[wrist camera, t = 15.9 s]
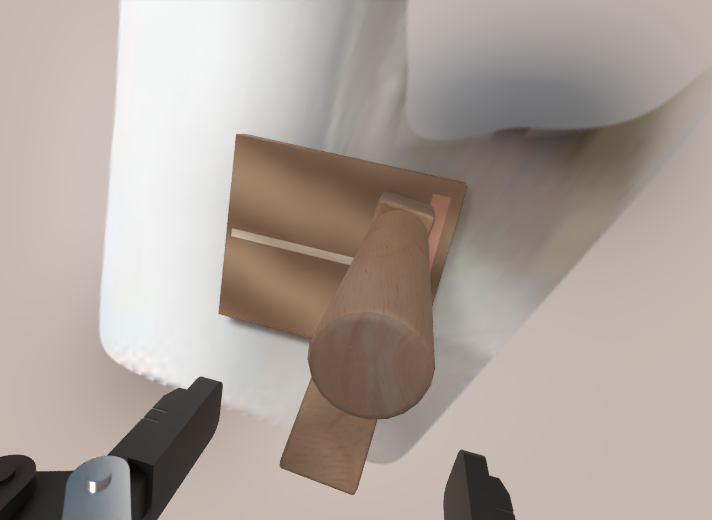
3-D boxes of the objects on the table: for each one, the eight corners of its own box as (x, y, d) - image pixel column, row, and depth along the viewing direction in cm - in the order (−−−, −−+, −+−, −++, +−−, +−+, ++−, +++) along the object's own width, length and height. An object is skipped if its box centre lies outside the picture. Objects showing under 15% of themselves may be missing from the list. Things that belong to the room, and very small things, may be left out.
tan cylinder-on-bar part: (339, 323, 31) (239, 555, 14) (384, 188, 27) (321, 283, 10) (385, 339, 31) (339, 595, 14) (436, 206, 27) (458, 331, 10)
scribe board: (245, 133, 29) (236, 134, 28) (465, 182, 28) (467, 185, 27) (227, 306, 34) (218, 313, 32) (415, 355, 33) (415, 365, 31)
